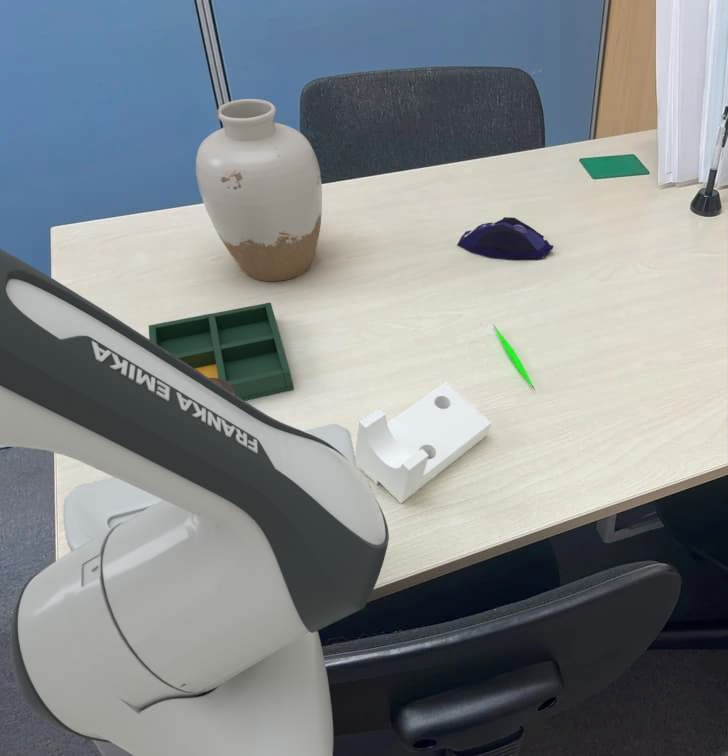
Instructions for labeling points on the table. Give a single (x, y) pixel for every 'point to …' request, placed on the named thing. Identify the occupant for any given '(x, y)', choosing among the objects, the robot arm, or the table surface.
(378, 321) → the table surface
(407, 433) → the bracket
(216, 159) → the vase
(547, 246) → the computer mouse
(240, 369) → the grid
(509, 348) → the leaf
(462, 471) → the table surface
